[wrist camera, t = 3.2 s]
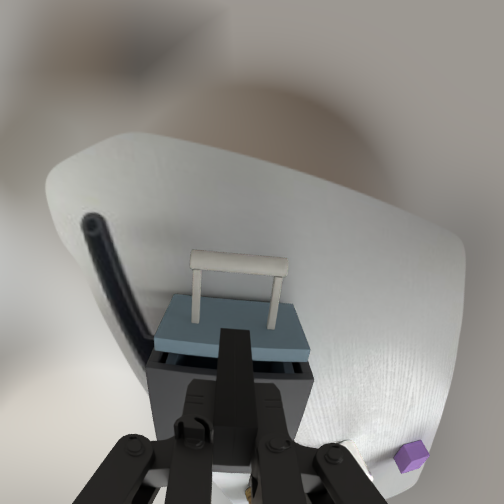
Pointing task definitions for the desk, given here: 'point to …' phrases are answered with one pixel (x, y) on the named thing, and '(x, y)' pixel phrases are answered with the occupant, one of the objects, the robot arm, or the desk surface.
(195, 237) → the desk surface
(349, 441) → the milkshake
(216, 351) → the drawer
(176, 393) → the cabinet
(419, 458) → the cube
